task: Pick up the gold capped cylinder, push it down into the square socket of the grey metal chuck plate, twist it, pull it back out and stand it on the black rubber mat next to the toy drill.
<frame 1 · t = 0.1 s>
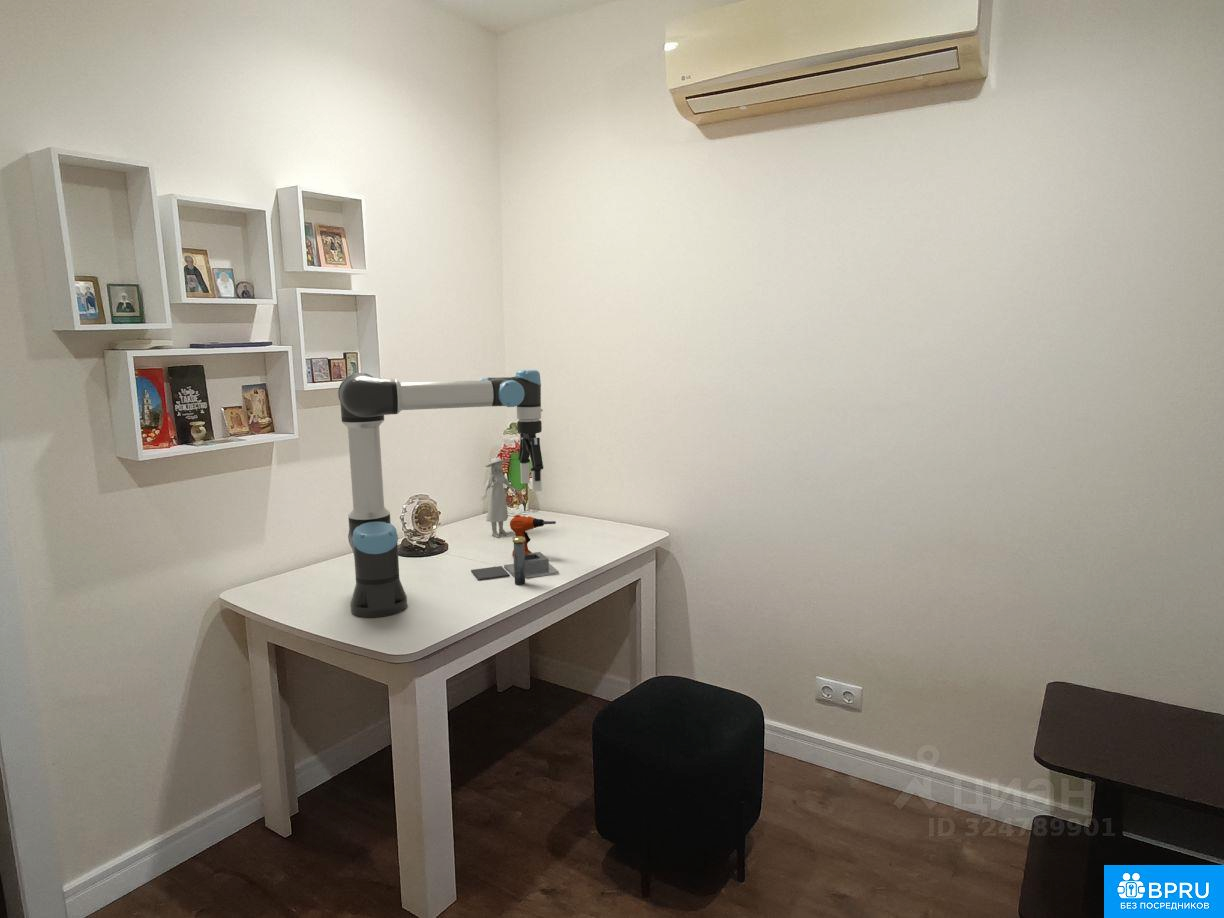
hand: (531, 487, 240), 28 cm above the table, fingers open, 13 cm apart
mat: (490, 574, 243), on the table
toy drill: (533, 558, 260), on the table
character figure: (499, 535, 289), on the table
gold capped cylinder: (520, 583, 233), on the table
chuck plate: (531, 570, 246), on the table
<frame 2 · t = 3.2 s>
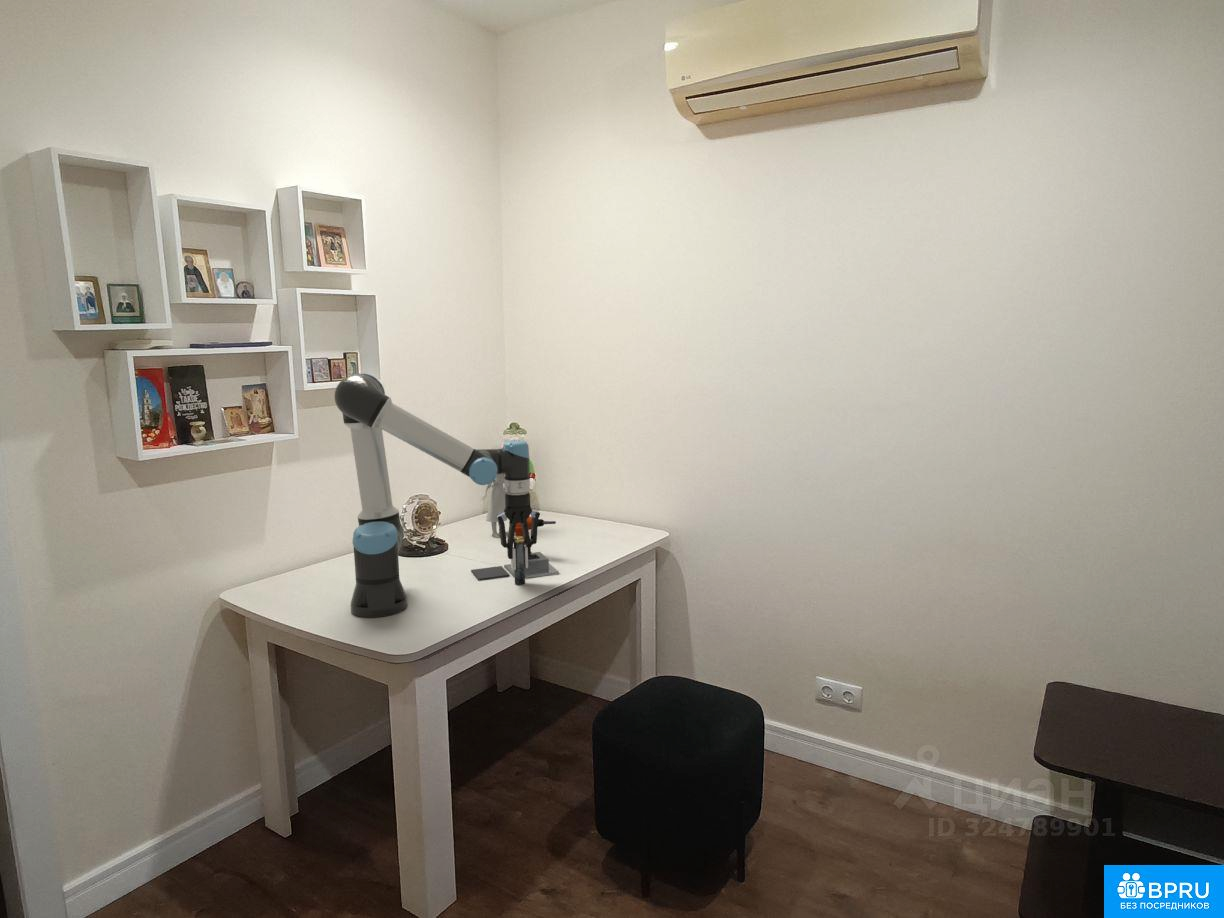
hand: (519, 567, 232), 5 cm above the table, fingers closed on gold capped cylinder, 3 cm apart
gold capped cylinder: (520, 583, 233), on the table, touching gripper
everything else where it was.
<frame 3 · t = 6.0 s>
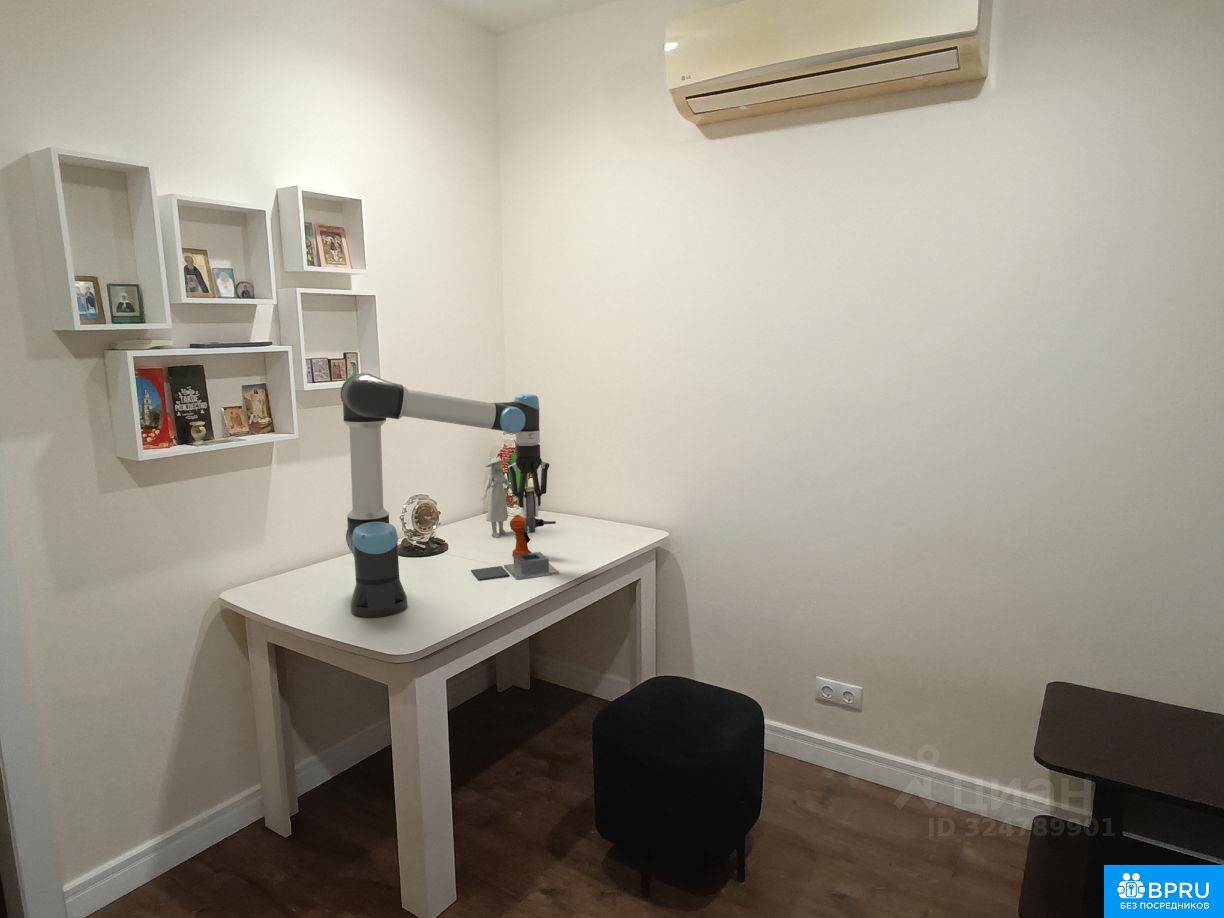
hand: (530, 516, 243), 18 cm above the table, fingers closed on gold capped cylinder, 3 cm apart
gold capped cylinder: (530, 531, 244), point 13 cm above the table, touching gripper
everything else where it was.
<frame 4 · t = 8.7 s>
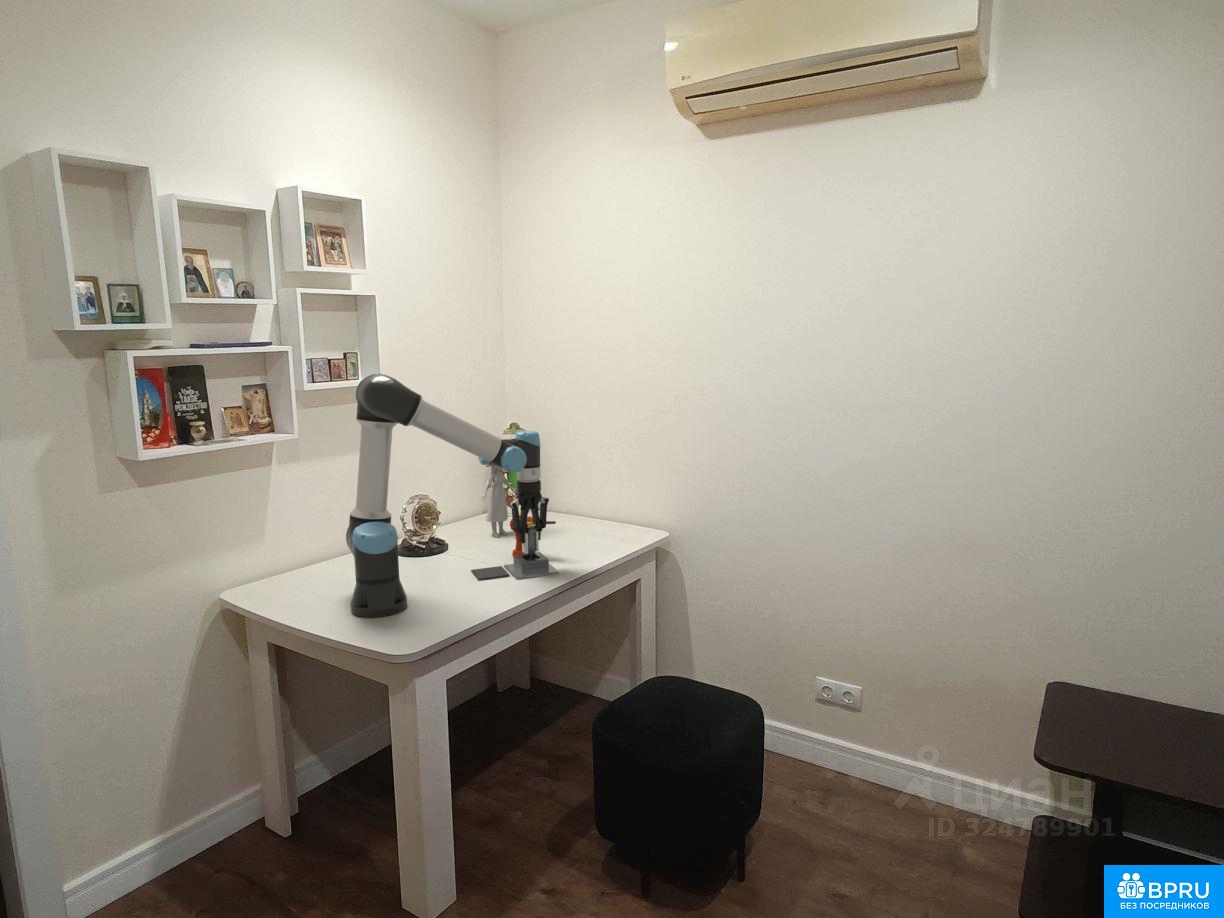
hand: (530, 551, 245), 6 cm above the table, fingers closed on gold capped cylinder, 3 cm apart
gold capped cylinder: (530, 566, 246), point 1 cm above the table, touching gripper
everything else where it was.
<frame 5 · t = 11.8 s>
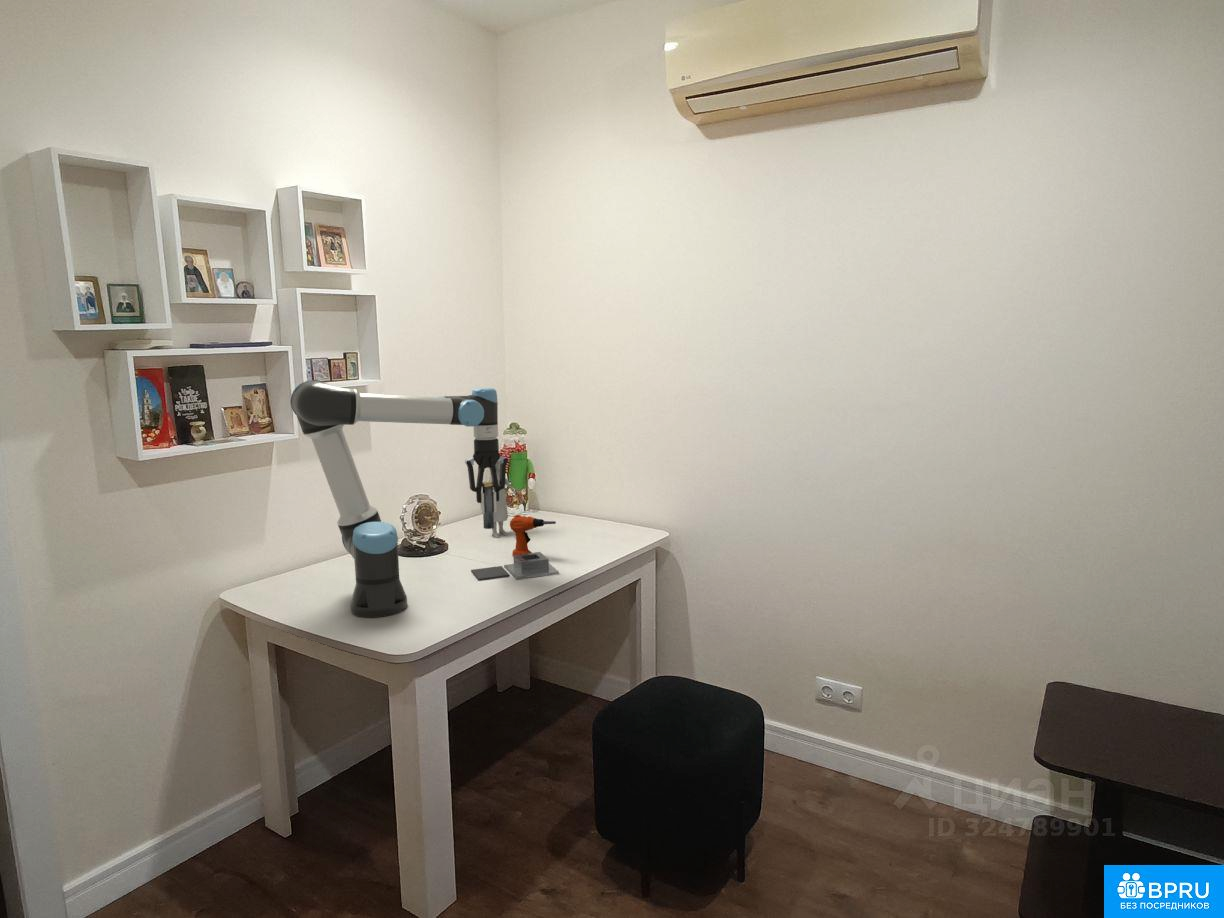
hand: (488, 511, 239), 20 cm above the table, fingers closed on gold capped cylinder, 3 cm apart
gold capped cylinder: (488, 527, 240), point 15 cm above the table, touching gripper
everything else where it was.
when the fingers open (7 cm above the table, at t = 14.5 s): gold capped cylinder stays where it is, resting on mat.
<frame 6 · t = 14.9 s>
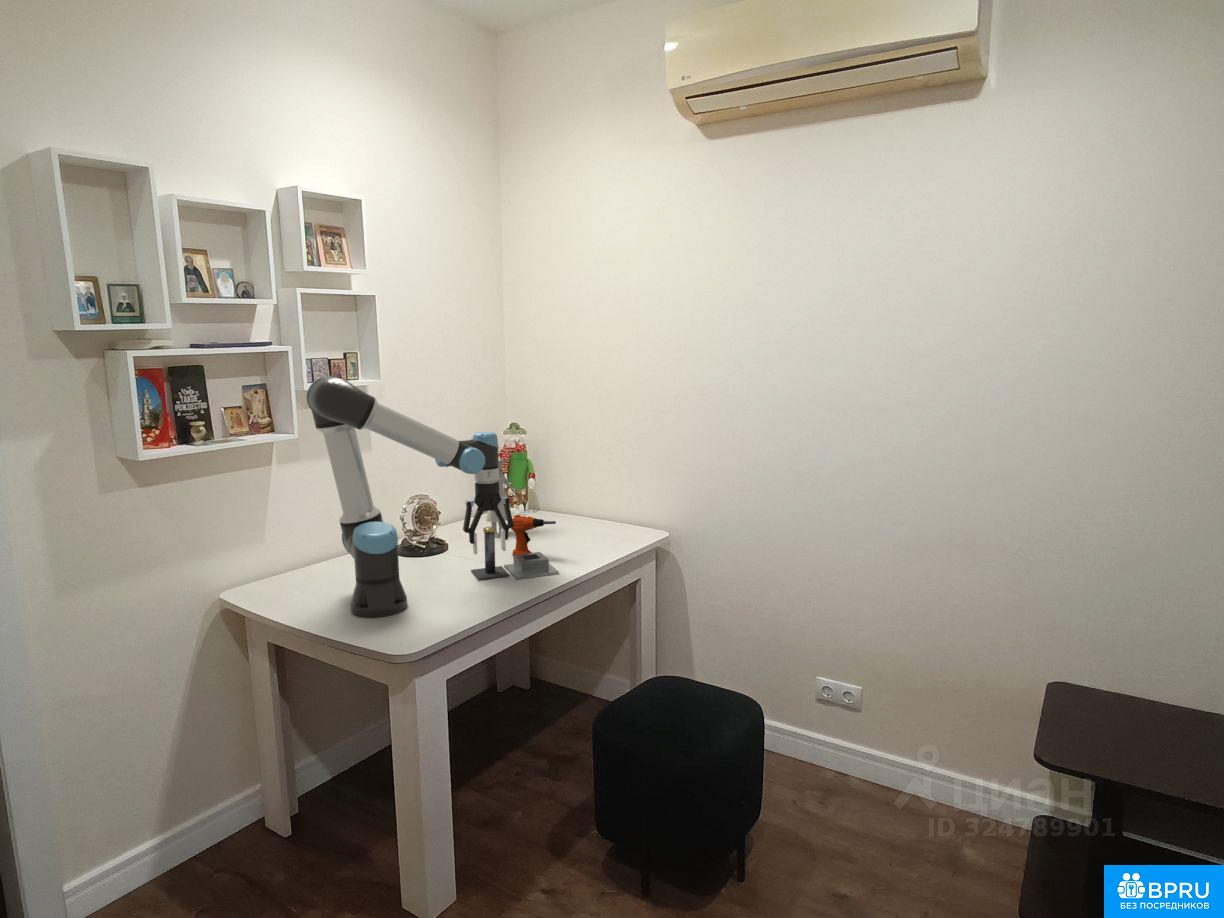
hand: (489, 551, 241), 7 cm above the table, fingers open, 8 cm apart
gold capped cylinder: (490, 572, 243), point 1 cm above the table, touching mat
everything else where it was.
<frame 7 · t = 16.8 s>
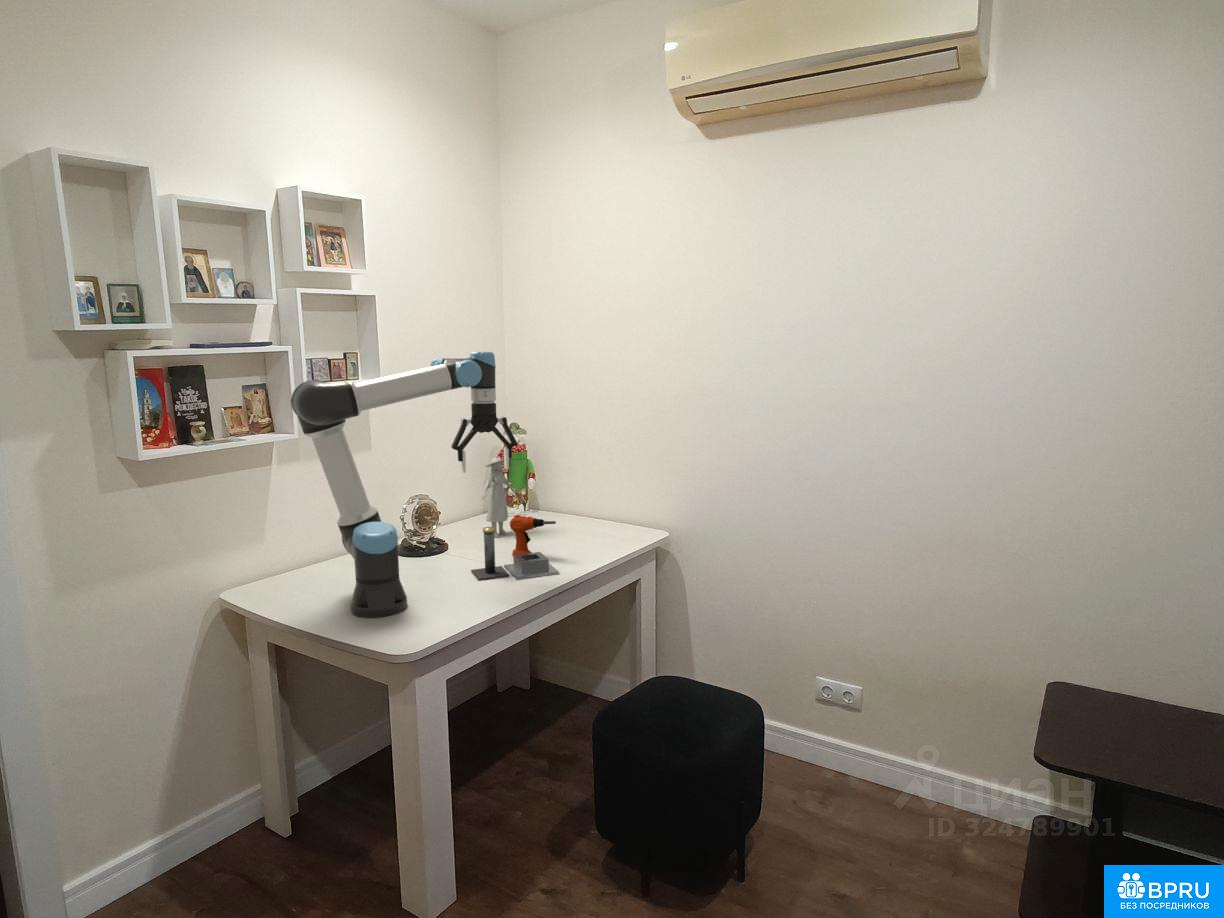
hand: (485, 470, 237), 34 cm above the table, fingers open, 13 cm apart
nothing on the table moved.
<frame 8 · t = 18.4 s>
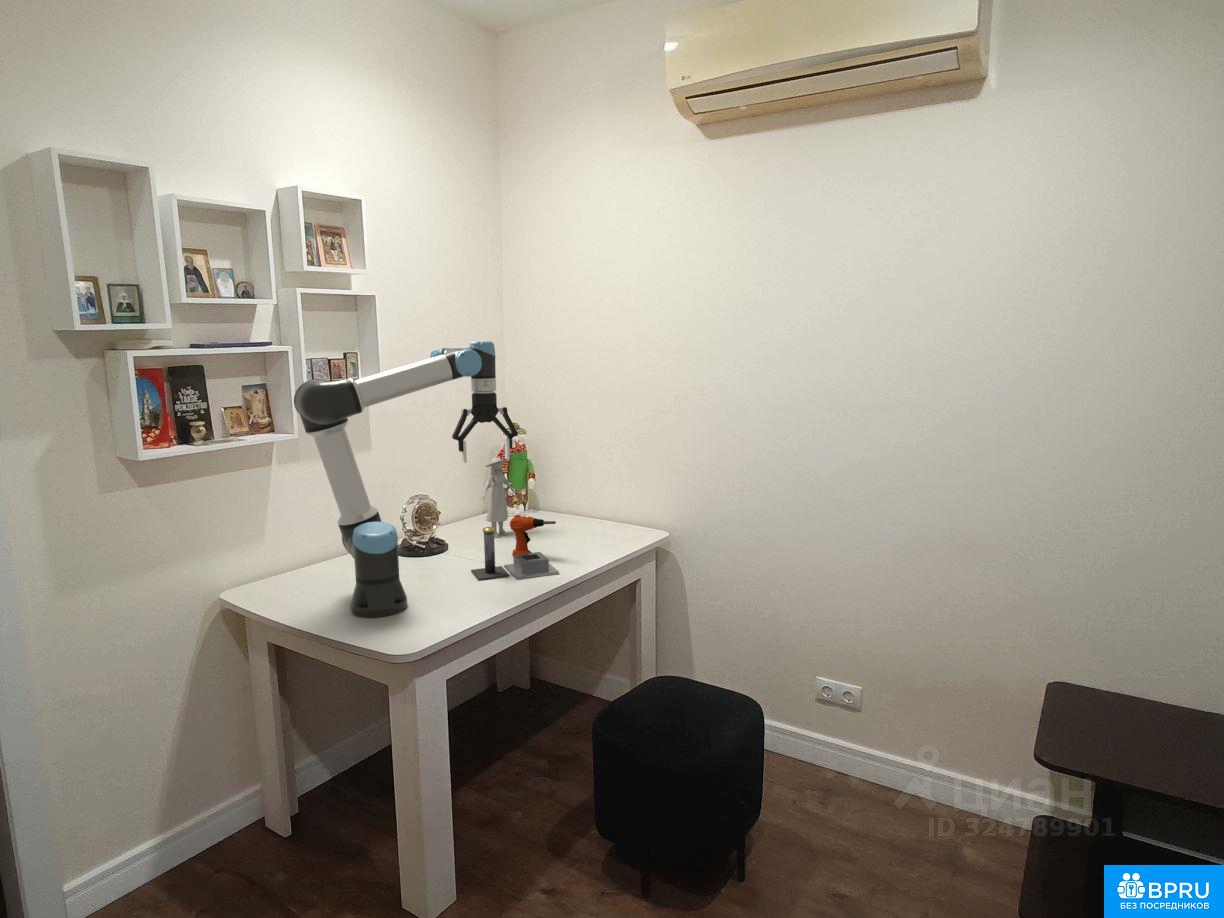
hand: (486, 460, 237), 37 cm above the table, fingers open, 13 cm apart
nothing on the table moved.
at the end: gold capped cylinder inside the target area on the mat (0.1 cm from its centre), point 0.6 cm above the mat's base; gold capped cylinder tilted 0°; the gripper is holding nothing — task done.
